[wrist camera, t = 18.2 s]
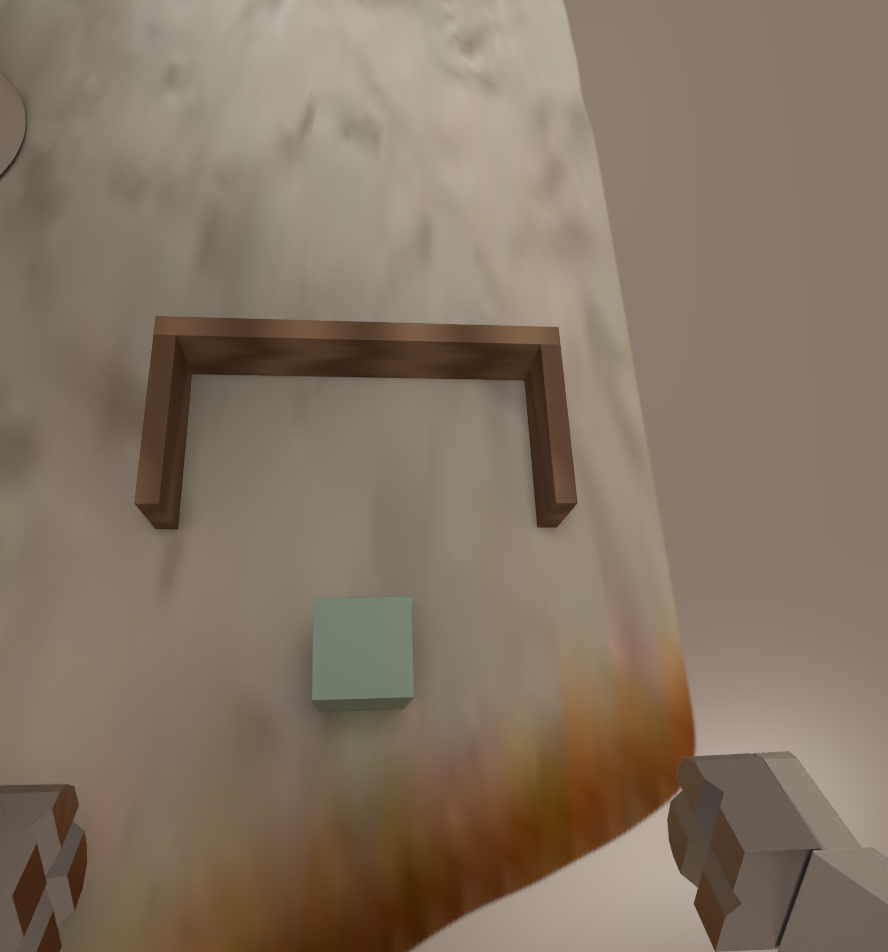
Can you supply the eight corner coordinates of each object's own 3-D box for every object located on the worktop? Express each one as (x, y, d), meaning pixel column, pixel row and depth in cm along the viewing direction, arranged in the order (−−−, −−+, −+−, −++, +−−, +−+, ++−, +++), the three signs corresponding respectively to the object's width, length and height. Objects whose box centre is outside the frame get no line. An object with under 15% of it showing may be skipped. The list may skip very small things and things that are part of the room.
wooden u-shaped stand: (156, 529, 43) (134, 503, 38) (173, 356, 47) (155, 316, 42) (556, 526, 45) (577, 503, 41) (541, 364, 49) (558, 327, 45)
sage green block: (319, 711, 40) (311, 700, 33) (320, 627, 42) (314, 597, 34) (403, 709, 41) (414, 697, 33) (401, 625, 42) (411, 596, 35)
